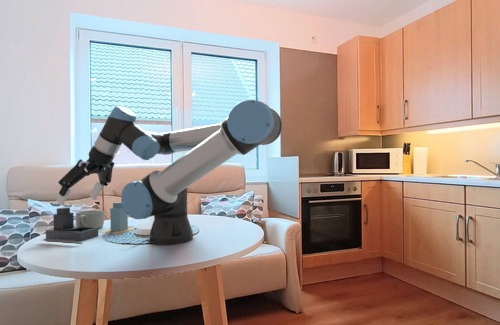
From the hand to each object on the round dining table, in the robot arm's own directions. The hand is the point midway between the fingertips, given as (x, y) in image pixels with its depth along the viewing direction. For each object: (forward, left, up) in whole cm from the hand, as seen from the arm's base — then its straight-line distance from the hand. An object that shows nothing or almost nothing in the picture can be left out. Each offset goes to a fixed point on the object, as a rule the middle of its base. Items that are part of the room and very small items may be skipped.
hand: (76, 200), depth 107 cm
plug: (-2, -18, -14) cm, 23 cm away
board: (-2, -18, -15) cm, 24 cm away
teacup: (+13, -17, -16) cm, 26 cm away
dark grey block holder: (+7, -4, -15) cm, 17 cm away
